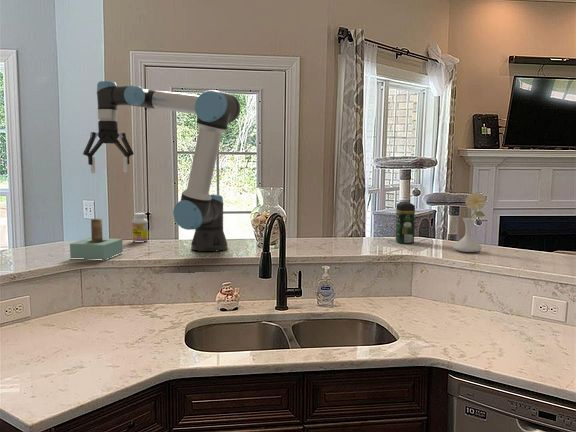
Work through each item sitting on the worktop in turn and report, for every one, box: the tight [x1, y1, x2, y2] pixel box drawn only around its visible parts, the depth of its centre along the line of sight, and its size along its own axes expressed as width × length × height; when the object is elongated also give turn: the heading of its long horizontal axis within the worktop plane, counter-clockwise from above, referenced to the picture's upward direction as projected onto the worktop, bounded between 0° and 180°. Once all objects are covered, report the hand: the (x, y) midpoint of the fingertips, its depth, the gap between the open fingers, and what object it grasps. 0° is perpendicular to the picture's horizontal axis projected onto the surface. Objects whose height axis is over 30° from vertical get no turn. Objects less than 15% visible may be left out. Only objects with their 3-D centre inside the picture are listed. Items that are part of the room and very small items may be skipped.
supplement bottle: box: [131, 212, 149, 242], centre depth 244 cm, size 7×7×13 cm
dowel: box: [90, 218, 104, 243], centre depth 210 cm, size 4×4×14 cm
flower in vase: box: [453, 191, 487, 253], centre depth 224 cm, size 13×11×25 cm
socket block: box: [69, 237, 124, 260], centre depth 210 cm, size 14×14×6 cm
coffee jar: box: [395, 201, 416, 245], centre depth 246 cm, size 10×8×19 cm
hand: (109, 172), depth 224 cm, fingers open, 13 cm apart
